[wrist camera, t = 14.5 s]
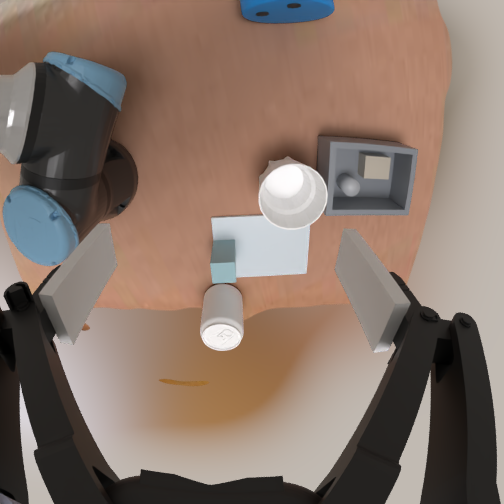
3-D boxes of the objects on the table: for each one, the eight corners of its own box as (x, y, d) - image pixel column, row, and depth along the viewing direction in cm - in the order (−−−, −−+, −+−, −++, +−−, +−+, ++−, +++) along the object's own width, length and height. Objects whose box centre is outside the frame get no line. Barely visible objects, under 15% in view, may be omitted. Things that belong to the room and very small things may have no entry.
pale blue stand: (217, 275, 59) (215, 303, 51) (211, 216, 52) (207, 238, 44) (305, 270, 59) (315, 297, 51) (309, 212, 53) (322, 233, 45)
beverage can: (196, 296, 60) (190, 336, 50) (223, 275, 58) (221, 315, 48) (222, 317, 64) (221, 357, 53) (250, 298, 61) (253, 339, 51)
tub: (315, 200, 51) (325, 215, 45) (317, 135, 45) (330, 141, 39) (390, 201, 52) (408, 215, 45) (397, 142, 46) (417, 149, 40)
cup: (243, 189, 49) (245, 210, 41) (274, 140, 45) (283, 150, 37) (291, 215, 52) (302, 240, 44) (321, 170, 48) (340, 187, 40)
